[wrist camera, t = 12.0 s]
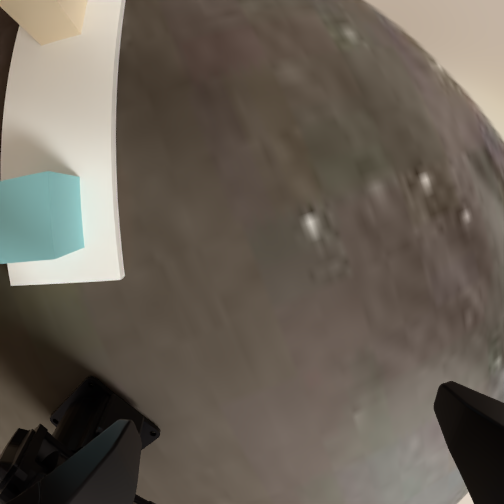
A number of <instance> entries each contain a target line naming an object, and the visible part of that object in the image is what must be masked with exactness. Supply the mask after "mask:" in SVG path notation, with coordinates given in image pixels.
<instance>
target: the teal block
mask: <svg viewBox="0 0 504 504" xmlns="http://www.w3.org/2000/svg"><path fill="white" fill-rule="evenodd" d="M84 247H85V246H84V237H83V226H82V213H81V197H80V177H78V176H72V175H67V174H62V173H56V172H51V171H46V172H41V173H36V174H31V175H26V176H21V177H17V178H12V179H8V180H3V181H0V264H5V263H17V262H29V261H41V260H53V259H57V258H59V257H62V256H64V255H67V254H69V253H72V252H74V251H77V250H79V249H82V248H84Z"/></svg>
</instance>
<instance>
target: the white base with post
mask: <svg viewBox="0 0 504 504" xmlns="http://www.w3.org/2000/svg"><path fill="white" fill-rule="evenodd" d="M125 1H126V0H0V7H1V8H2V9H3V10H4V11H5V12H6V13H8V14H9V15H10V16H11V17H12V18H13V19H14V20H15V21H16V22H17V23H18V24H19V29H18V33H17V37H16V41H15V45H14V50H13V54H12V59H11V65H10V70H9V76H8V82H7V89H6V96H5V104H4V113H3V125H2V139H1V181H3V180H8V179H12V178H17V177H21V176H26V175H31V174H36V173H41V172H46V171H51V172H56V173H62V174H67V175H72V176H78V177H80V197H81V213H82V226H83V237H84V246H85V247H84V248H82V249H79V250H77V251H74V252H72V253H69V254H67V255H64V256H62V257H59V258H57V259H53V260H41V261H29V262H17V263H7V266H8V272H9V278H10V284H11V286H18V285H39V284H58V283H76V282H93V281H110V280H121V279H122V278H123V277H124V276H125V273H124V265H123V256H122V247H121V236H120V225H119V212H118V196H117V174H116V100H117V79H118V64H119V52H120V41H121V32H122V23H123V15H124V8H125Z"/></svg>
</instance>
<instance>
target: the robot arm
mask: <svg viewBox="0 0 504 504" xmlns="http://www.w3.org/2000/svg"><path fill="white" fill-rule="evenodd" d="M90 382H92V383H93V384H94V385H91V384H90ZM434 411H435V414H436V417H437V419H438V422H439V425H440V427H441V430H442V433H443V436H444V438H445V441H446V444H447V446H448V449H449V451H450V453H451V455H452V457H453V459H454V461H455V463H456V465H457V468H458V470H459V472H460V474H461V476H462V478H463V480H464V482H465V485H466V487H467V489H468V491H469V493H470V496H471V498H472V500H473V502H474V504H504V403H503V402H500V401H498V400H496V399H493V398H491V397H488V396H486V395H484V394H481V393H479V392H477V391H474V390H472V389H470V388H467V387H465V386H463V385H460V384H458V383H456V382H453V381H449V382H446V383H443V384H441V385H440V386H439V388H438V392H437V395H436V399H435V402H434ZM57 420H58V421H57ZM50 421H51V422H52V424H54V425H55V426H56V427H57V428H56V429H55V431H54V433H53V435H51V434H50V433H49V432H47V431H48V430H47V429H46V428H45V427H44V426H43V425H42V424H39V426H38V427H37V428H36V429H35V430H33V429H32V430H31V431H30V430H29V431H28V430H24V429H20V428H19V429H18V430H17V431H16V432H15V433H14V435H13V436H12V438H11V439H10V441H9V442H8V444H7V445H6V447H5V448H4V450H3V452H2V454H1V455H0V504H155V503H153V502H152V501H147V500H145V499H143V498H142V497H140V496H138V495H136V489H137V482H138V473H139V464H140V455H141V450H142V449H144V448H145V447H146V446H148V445H149V444H150V443H152V442H153V441H154V440H156V439H157V438H158V437H159V436H160V429H159V428H158V427H157V426H156V425H154V424H153V423H151V422H150V421H149V420H147V419H146V418H145V417H143V415H141V414H140V413H139V412H137V411H136V410H135V409H133V408H132V407H131V406H130V405H128V404H127V403H126V402H125V401H123V400H122V399H121V398H120V397H118V396H117V395H115V394H114V393H113V392H112V391H111V390H109V389H108V388H107V387H106V386H105V385H103V384H102V383H101V382H100V381H99V380H98V379H97V378H95V377H93V376H89V377H87V378H86V379H85V380H84V381H83V382H82V383H81V384H80V385H79V387H78V388H77V389H76V390H75V391H74V392H73V393H72V394H71V395H70V396H69V397H68V398H67V399H66V400H65V401H64V402H63V403H62V404H61V405H60V407H59V408H58V409H57V410H56V411H55V412H54V413H53V414H52V416H51V417H50ZM151 431H154V432H156V433H152V432H151Z"/></svg>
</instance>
